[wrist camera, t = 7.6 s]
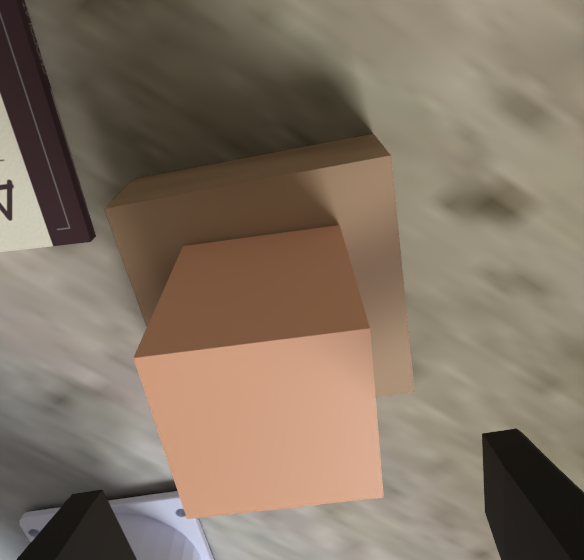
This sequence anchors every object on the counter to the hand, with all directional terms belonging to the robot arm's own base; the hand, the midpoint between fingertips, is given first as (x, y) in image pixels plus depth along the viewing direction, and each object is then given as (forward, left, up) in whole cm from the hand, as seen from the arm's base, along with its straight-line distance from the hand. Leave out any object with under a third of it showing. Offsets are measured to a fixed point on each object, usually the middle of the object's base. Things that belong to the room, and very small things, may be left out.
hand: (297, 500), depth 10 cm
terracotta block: (+1, 0, -7) cm, 7 cm away
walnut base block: (+1, 0, -10) cm, 10 cm away
